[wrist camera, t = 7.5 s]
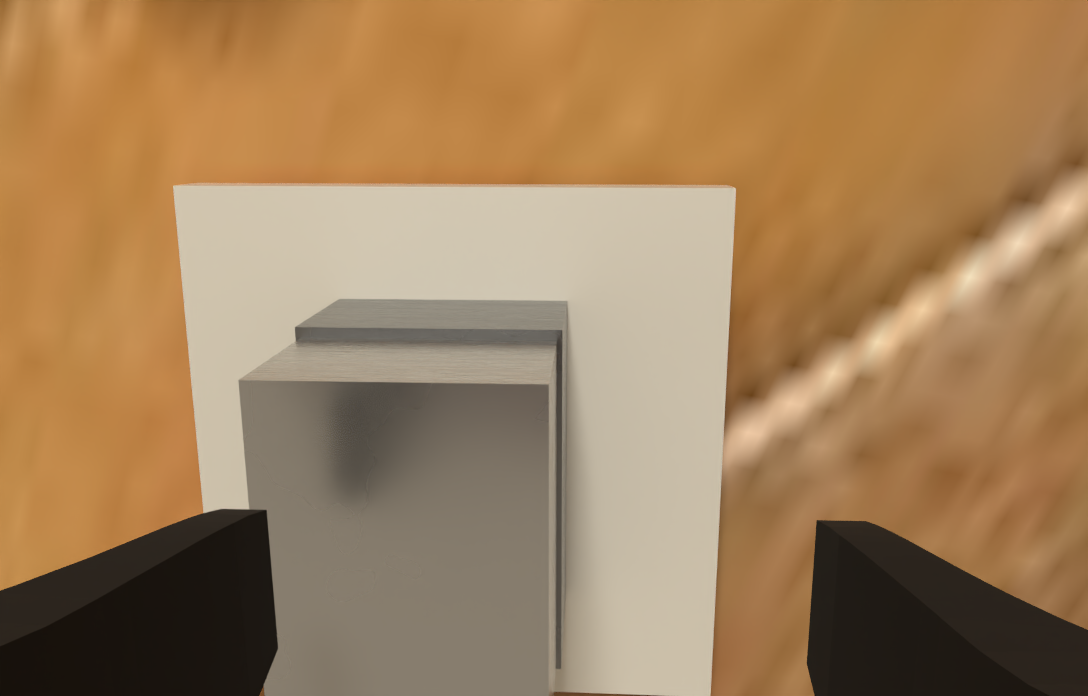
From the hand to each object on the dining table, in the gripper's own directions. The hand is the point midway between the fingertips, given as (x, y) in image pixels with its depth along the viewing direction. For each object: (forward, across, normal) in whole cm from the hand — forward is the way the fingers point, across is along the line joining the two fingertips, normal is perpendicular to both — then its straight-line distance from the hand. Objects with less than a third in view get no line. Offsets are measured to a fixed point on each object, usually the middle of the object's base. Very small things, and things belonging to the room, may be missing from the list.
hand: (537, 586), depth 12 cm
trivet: (+10, +2, +1) cm, 11 cm away
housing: (+8, +2, +1) cm, 9 cm away
